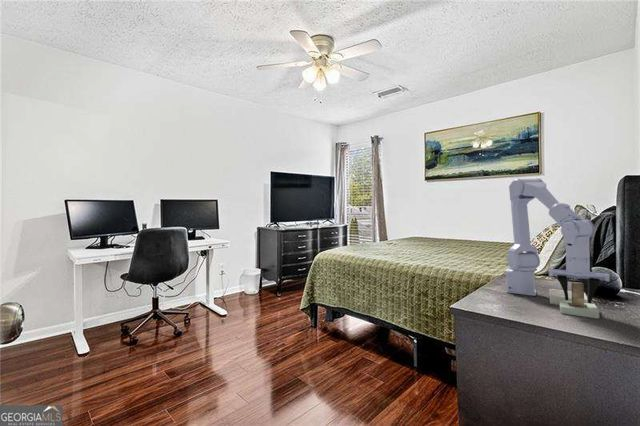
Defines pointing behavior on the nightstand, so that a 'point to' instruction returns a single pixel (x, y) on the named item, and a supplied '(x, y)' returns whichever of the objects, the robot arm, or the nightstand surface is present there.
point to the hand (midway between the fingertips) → (577, 300)
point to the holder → (579, 309)
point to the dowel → (577, 294)
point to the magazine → (585, 281)
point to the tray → (561, 296)
